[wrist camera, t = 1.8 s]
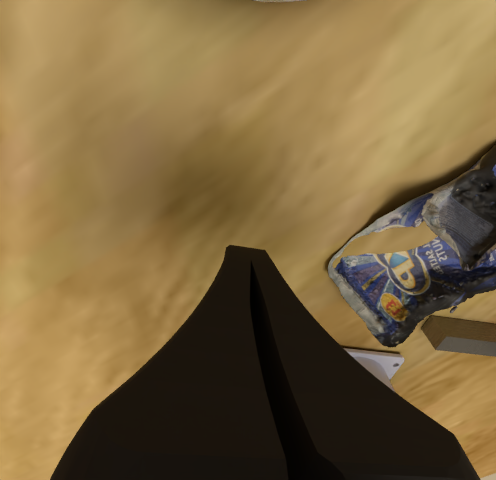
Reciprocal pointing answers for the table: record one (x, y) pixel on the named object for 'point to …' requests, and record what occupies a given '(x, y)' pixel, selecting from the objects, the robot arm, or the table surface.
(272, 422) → the robot arm
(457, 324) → the rail track
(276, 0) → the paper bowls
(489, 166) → the snack package
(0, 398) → the table surface
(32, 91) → the table surface
